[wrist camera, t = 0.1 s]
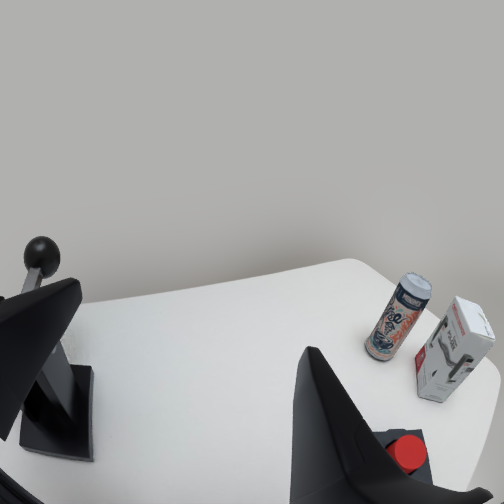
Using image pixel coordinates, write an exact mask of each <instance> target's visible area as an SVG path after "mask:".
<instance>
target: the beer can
mask: <svg viewBox="0 0 504 504" xmlns="http://www.w3.org/2000/svg"><path fill="white" fill-rule="evenodd" d="M431 289H432V285H431V284H430V283H429V282H428V281H427V280H426V279H425V278H423V277H422V276H420V275H417V274H415V273H407V274H405V275H404V276H403V277H402V278H401V279H400V282H399V284H398V286H397V288H396V290H395V292H394V294H393V295H392V297H391V299H390V301H389V303H388V305H387V307H386V309H385V310H384V312H383V314H382V316H381V318H380V319H379V321H378V323H377V324H376V326H375V328H374V330H373V331H372V333H371V335H370V336H369V338H368V339H367V340H366V348H367V350H368V352H369V353H370V354H371V355H372V356H374V357H375V358H378V359H380V360H389V359H391V358H392V357H393V356H394V354H395V353H396V352H397V350H398V349H399V347H400V346H401V344H402V343H403V341H404V340H405V338H406V337H407V335H408V334H409V332H410V331H411V329H412V328H413V326H414V325H415V323H416V321H417V320H418V318H419V316H420V315H421V313H422V311H423V310H424V308H425V306H426V304H427V303H428V301H429V299H430V298H431Z"/></svg>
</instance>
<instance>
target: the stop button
mask: <svg viewBox="0 0 504 504" xmlns="http://www.w3.org/2000/svg"><path fill="white" fill-rule="evenodd" d="M386 450H387V452H388V453H389V454H390V455H391V457H392V458H393V459H394V460H395V461H396V463H397V464H398V465H399V466H400V467H401V469H402V470H403V471H404V472H405V473H406V474H409V473H410V472H412V471H414V470H415V469H417V468H419V467H420V466H421V465H422V464H423V463H424V461H425V459H426V454H427V453H426V447H425V445H424V443H423V442H422V441H421V440H420V439H419V438H418V437H416V436H414V435H405V436H402V437H401V438H399V439H398V440H397V441H395V442H394V443H393V444H392V445H390V446H389V447H388V448H387V449H386Z"/></svg>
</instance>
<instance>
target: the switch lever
mask: <svg viewBox="0 0 504 504" xmlns="http://www.w3.org/2000/svg"><path fill="white" fill-rule="evenodd" d="M24 263H25V267H26V269H27V270H28V274H27V277H26V280H25V283H24V286H23V289H22V291H21V294H22V293H25V292H28V291H31V290H34V289H37V288H40V285H41V282H42V279H46V278H49V277H51V276H52V275H53V274H54V273H55V272H56V271H57V269H58V267H59V264H60V251H59V248H58V246H57V245H56V243H55V242H54V241H53V240H51V239H50V238H48V237H44V236H39V237H36V238H34V239H32V240H31V241H30V242H29V243H28V244H27V246H26V248H25V252H24Z"/></svg>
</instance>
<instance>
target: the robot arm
mask: <svg viewBox="0 0 504 504" xmlns="http://www.w3.org/2000/svg"><path fill="white" fill-rule="evenodd" d="M81 301H82V291H81V286H80V282H79V281H78V280H77V279H74V278H67V279H64V280H61V281H58V282H55V283H52V284H49V285H46V286H43V287H40V288H37V289H34V290H31V291H28V292H25V293H22V294H19V295H17V296H14V297H11V298H8V299H5V300H3V301H0V438H1V439H2V440H3V441H6V439H7V437H8V435H9V432H10V430H11V428H12V426H13V423H14V421H15V419H16V417H17V415H18V413H19V411H20V409H21V407H22V404H23V403H24V401H25V399H26V397H27V395H28V393H29V391H30V389H31V387H32V386H33V384H34V382H35V380H36V378H37V377H38V375H39V373H40V371H41V370H42V368H43V366H44V364H45V363H46V361H47V359H48V358H49V356H50V355H51V353H52V351H53V350H54V348H55V346H56V345H57V343H58V342H59V340H60V339H61V337H62V336H63V334H64V332H65V331H66V329H67V327H68V326H69V324H70V322H71V320H72V318H73V316H74V314H75V313H76V311H77V309H78V307H79V305H80V304H81ZM491 498H493V495H492V494H491V493H490V492H489V491H488V490H485V489H483V488H480V487H478V488H475V489H473V490H471V491H468V492H457V491H452V490H448V489H445V488H441V487H438V486H435V485H432V484H429V483H425V482H422V481H420V480H417V479H414V478H412V477H411V476H409V475H408V474H406V473H405V472H404V471H403V470H402V469H401V467H400V466H399V465H398V464H397V463H396V461H395V460H394V459H393V458H392V457H391V455H390V454H389V453H388V452H387V450H386V449H385V448H384V447H383V445H382V444H381V443H380V442H379V440H378V439H377V438H376V436H375V435H374V433H373V432H372V430H371V429H370V428H369V426H368V424H367V423H366V421H365V420H364V419H363V417H362V415H361V414H360V412H359V411H358V409H357V407H356V406H355V404H354V403H353V401H352V400H351V398H350V396H349V395H348V393H347V392H346V390H345V389H344V387H343V386H342V384H341V382H340V381H339V379H338V378H337V376H336V375H335V373H334V372H333V370H332V368H331V367H330V365H329V364H328V362H327V361H326V359H325V358H324V356H323V354H322V353H321V351H320V350H319V349H318V348H316V347H311V346H308V347H306V348H305V350H304V352H303V354H302V356H301V358H300V360H299V363H298V369H297V377H296V385H295V392H294V400H293V435H292V465H291V487H290V503H289V504H483V503H485V502H487V501H488V500H490V499H491ZM0 504H44V503H43V502H41V501H40V500H39V499H37V498H36V497H34V496H33V495H32V494H30V493H29V492H28V491H27V490H25V489H24V488H23V487H21V486H20V485H19V484H18V483H17V482H15V481H14V480H13V479H12V478H11V477H10V476H8V475H7V474H6V473H5V472H4V471H3V470H2V469H1V468H0ZM501 504H504V502H503V503H501Z"/></svg>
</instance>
